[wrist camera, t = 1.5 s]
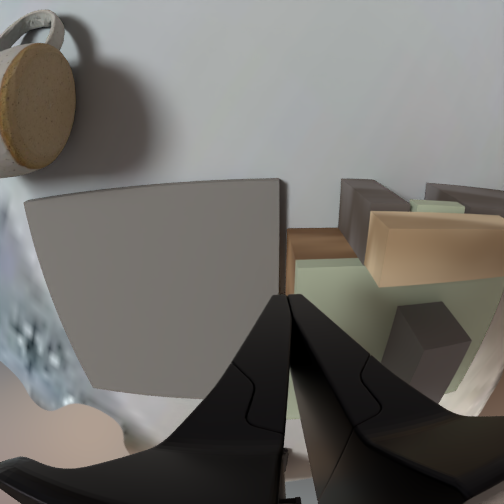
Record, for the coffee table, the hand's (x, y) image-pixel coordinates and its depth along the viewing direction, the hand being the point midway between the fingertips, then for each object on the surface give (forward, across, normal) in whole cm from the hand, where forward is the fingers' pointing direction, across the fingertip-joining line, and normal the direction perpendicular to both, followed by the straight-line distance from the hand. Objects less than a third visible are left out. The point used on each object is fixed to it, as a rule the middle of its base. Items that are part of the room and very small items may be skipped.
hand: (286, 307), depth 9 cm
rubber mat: (+10, +8, +7) cm, 14 cm away
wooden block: (+4, -8, 0) cm, 9 cm away
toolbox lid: (+6, -8, +6) cm, 11 cm away
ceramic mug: (+10, +15, -9) cm, 20 cm away
